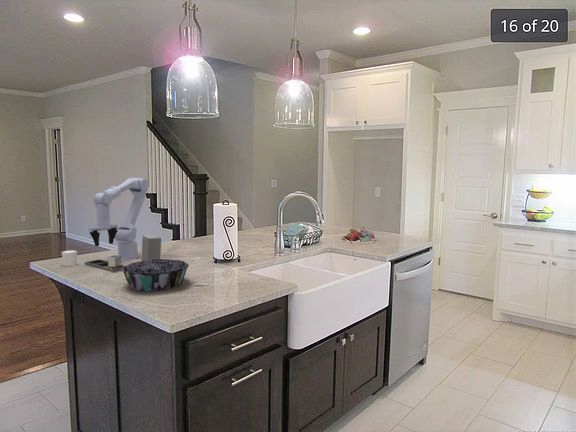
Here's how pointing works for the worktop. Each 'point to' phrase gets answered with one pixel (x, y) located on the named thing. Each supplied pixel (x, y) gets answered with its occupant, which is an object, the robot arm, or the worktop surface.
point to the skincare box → (151, 247)
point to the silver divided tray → (102, 265)
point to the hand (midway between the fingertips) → (104, 244)
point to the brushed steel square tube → (114, 262)
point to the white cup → (69, 258)
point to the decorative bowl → (155, 274)
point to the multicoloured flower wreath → (360, 235)
